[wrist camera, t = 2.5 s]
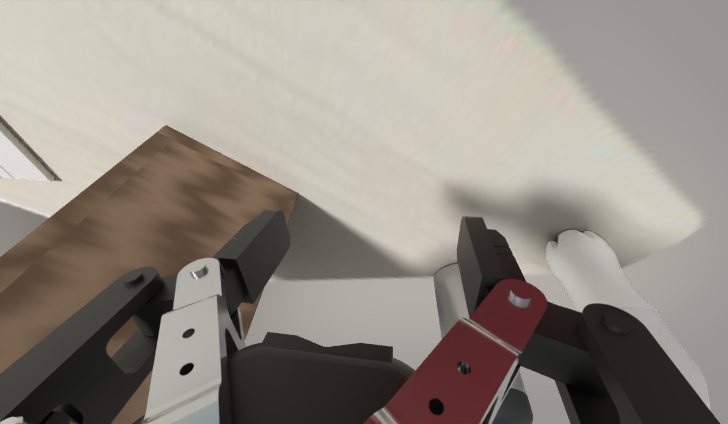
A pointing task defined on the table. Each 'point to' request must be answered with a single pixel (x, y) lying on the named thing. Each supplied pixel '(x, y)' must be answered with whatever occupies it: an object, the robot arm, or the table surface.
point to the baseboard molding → (19, 159)
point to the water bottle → (613, 293)
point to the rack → (130, 239)
